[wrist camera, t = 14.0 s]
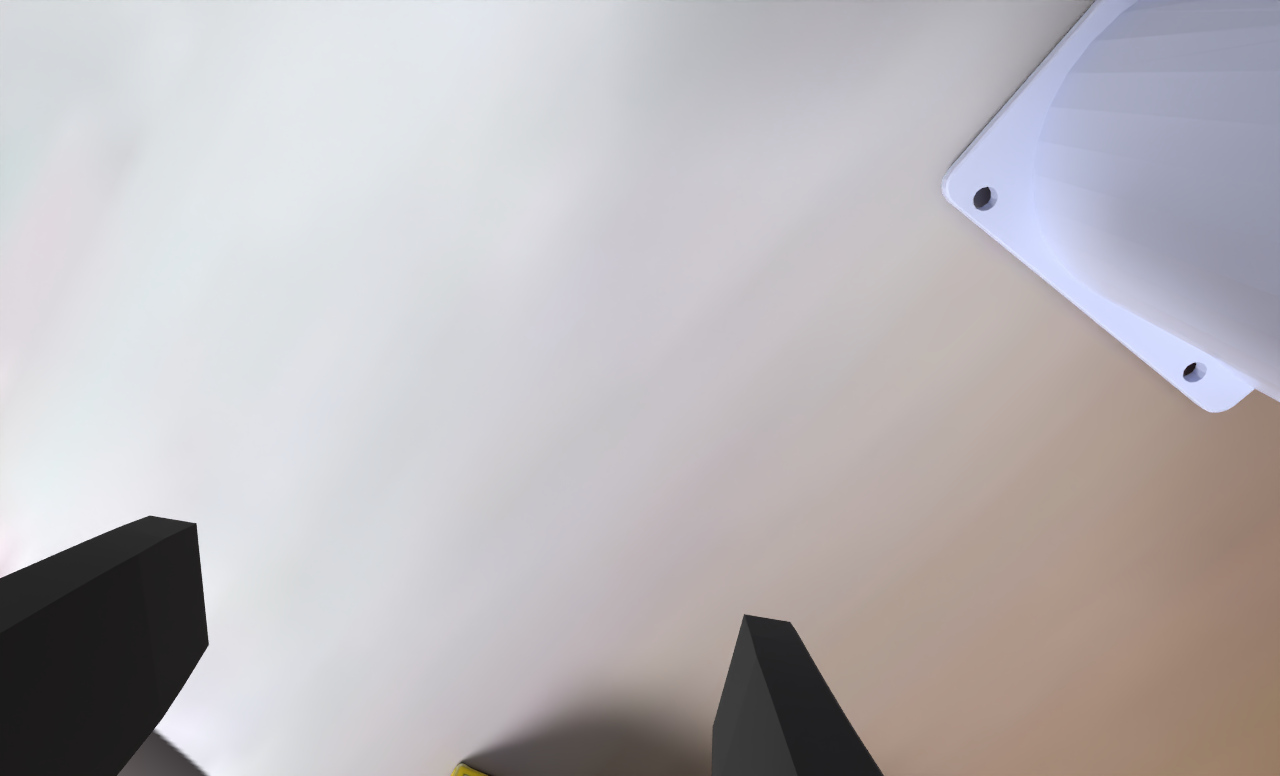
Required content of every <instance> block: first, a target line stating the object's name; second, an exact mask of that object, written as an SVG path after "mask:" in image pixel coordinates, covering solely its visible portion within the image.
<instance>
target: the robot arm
mask: <svg viewBox="0 0 1280 776" xmlns="http://www.w3.org/2000/svg"><path fill="white" fill-rule="evenodd" d="M984 187H988V188H989V189H990V191H991V198H990V200H989V202H988V203H987V204H986V205H984V206H983V207H980V208H976V207H975V206H974V204H973V197H974V196H975V194H976V192H977V191H978V190H980V189H981V188H984ZM941 189H942V193H943V196H944V197H945V198H946V200H947V201H948V202H949V203H950V204H951V205H953V206H954V207H955V208H956V209H958V210H959V211H960V212H961V213H963V214H964V215H965V216H966V217H967V218H969V219H970V220H971V221H972V222H974V223H975V224H976V225H977V226H978V227H980V228H981V229H982V230H983V231H985V232H986V233H987V234H988V235H989V236H991V237H992V238H993V239H994V240H996V241H997V242H998V243H999V244H1000V245H1002V246H1003V247H1004V248H1005V249H1007V250H1008V251H1009V252H1010V253H1011V254H1013V255H1014V256H1015V257H1016V258H1018V259H1019V260H1020V261H1021V262H1023V263H1024V264H1025V265H1026V266H1027V267H1029V268H1030V269H1031V270H1032V271H1034V272H1035V273H1036V274H1037V275H1038V276H1040V277H1041V278H1042V279H1043V280H1045V281H1046V282H1047V283H1048V284H1049V285H1051V286H1052V287H1053V288H1054V289H1056V290H1057V291H1058V292H1059V293H1060V294H1062V295H1063V296H1064V297H1065V298H1067V299H1068V300H1069V301H1070V302H1071V303H1073V304H1074V305H1075V306H1076V307H1078V308H1079V309H1080V310H1081V311H1083V312H1084V313H1085V314H1086V315H1087V316H1089V317H1090V318H1091V319H1092V320H1094V321H1095V322H1096V323H1097V324H1098V325H1100V326H1101V327H1102V328H1103V329H1105V330H1106V331H1107V332H1108V333H1109V334H1111V335H1112V336H1113V337H1114V338H1116V339H1117V340H1118V341H1119V342H1120V343H1122V344H1123V345H1124V346H1125V347H1127V348H1128V349H1129V350H1130V351H1131V352H1133V353H1134V354H1135V355H1136V356H1138V357H1139V358H1140V359H1141V360H1142V361H1144V362H1145V363H1146V364H1147V365H1149V366H1150V367H1151V368H1152V369H1154V370H1155V371H1156V372H1157V373H1158V374H1160V375H1161V376H1162V377H1163V378H1165V379H1166V380H1167V381H1168V382H1169V383H1171V384H1172V385H1173V386H1174V387H1176V388H1177V389H1178V390H1179V391H1180V392H1182V393H1183V394H1184V395H1185V396H1187V397H1188V398H1189V399H1190V400H1191V401H1193V402H1194V403H1195V404H1197V405H1198V406H1200V407H1201V408H1203V409H1204V410H1207V411H1209V412H1217V413H1218V412H1222V411H1226V410H1228V409H1230V408H1231V407H1233V406H1235V405H1236V404H1237V403H1238V402H1239V401H1241V400H1242V399H1243V398H1244V397H1245V396H1247V395H1248V394H1249V393H1250V392H1252V391H1253V390H1254V389H1257V390H1259V391H1260V392H1262V393H1264V394H1266V395H1267V396H1269V397H1271V398H1273V399H1275V400H1276V401H1278V402H1280V0H1096V1H1095V2H1094V3H1093V4H1092V5H1091V7H1090V8H1089V9H1088V10H1087V11H1086V12H1085V13H1084V15H1083V16H1082V17H1081V18H1080V19H1079V20H1078V22H1077V23H1076V24H1075V25H1074V26H1073V27H1072V28H1071V30H1070V31H1069V32H1068V33H1067V34H1066V35H1065V36H1064V38H1063V39H1062V40H1061V41H1060V42H1059V43H1058V44H1057V46H1056V47H1055V48H1054V49H1053V50H1052V51H1051V52H1050V54H1049V55H1048V56H1047V57H1046V58H1045V59H1044V60H1043V62H1042V63H1041V64H1040V65H1039V66H1038V67H1037V68H1036V70H1035V71H1034V72H1033V73H1032V74H1031V75H1030V77H1029V78H1028V79H1027V80H1026V81H1025V82H1024V83H1023V85H1022V86H1021V87H1020V88H1019V89H1018V90H1017V91H1016V93H1015V94H1014V95H1013V96H1012V97H1011V98H1010V99H1009V101H1008V102H1007V103H1006V104H1005V105H1004V106H1003V107H1002V109H1001V110H1000V111H999V112H998V113H997V114H996V115H995V117H994V118H993V119H992V120H991V121H990V122H989V123H988V125H987V126H986V127H985V128H984V129H983V130H982V132H981V133H980V134H979V135H978V136H977V137H976V138H975V140H974V141H973V142H972V143H971V144H970V145H969V146H968V148H967V149H966V150H965V151H964V152H963V153H962V154H961V156H960V157H959V158H958V159H957V160H956V161H955V162H954V164H953V165H952V166H951V167H950V168H949V169H948V171H947V172H946V174H945V176H944V177H943V180H942V185H941ZM1192 363H1196V368H1195V369H1194V370H1193V372H1192V373H1190V374H1188V375H1186V376H1183V371H1184V370H1185V369H1186V367H1187V366H1188V365H1190V364H1192ZM208 645H209V642H208V632H207V623H206V613H205V603H204V593H203V584H202V574H201V564H200V554H199V545H198V535H197V525H196V523H191V522H185V521H179V520H173V519H167V518H161V517H155V516H148V517H145V518H142V519H139V520H137V521H134V522H131V523H129V524H126V525H124V526H121V527H118V528H116V529H114V530H111V531H109V532H106V533H104V534H102V535H99V536H97V537H94V538H92V539H90V540H87V541H85V542H83V543H80V544H78V545H76V546H73V547H71V548H69V549H67V550H64V551H62V552H60V553H57V554H55V555H53V556H50V557H48V558H46V559H44V560H41V561H39V562H37V563H34V564H32V565H30V566H28V567H25V568H23V569H21V570H18V571H16V572H14V573H11V574H9V575H7V576H4V577H2V578H0V776H117V775H118V773H119V772H120V771H121V770H122V769H123V767H124V766H125V765H126V764H127V762H128V761H129V760H130V759H131V757H132V756H133V755H134V754H135V752H136V751H137V750H138V749H139V747H140V746H141V745H142V744H143V742H144V741H145V740H146V739H147V737H148V736H149V735H150V734H151V732H152V731H153V730H154V728H155V727H156V726H157V725H158V723H159V722H160V721H161V720H162V718H163V717H164V715H165V714H166V712H167V711H168V709H169V707H170V706H171V704H172V703H173V701H174V700H175V698H176V697H177V695H178V694H179V692H180V691H181V689H182V688H183V686H184V685H185V683H186V681H187V680H188V678H189V676H190V675H191V673H192V672H193V670H194V668H195V667H196V665H197V663H198V662H199V660H200V658H201V657H202V655H203V654H204V652H205V650H206V649H207V647H208ZM712 776H884V775H883V774H882V772H881V770H880V769H879V767H878V766H877V764H876V763H875V761H874V760H873V758H872V756H871V755H870V753H869V752H868V750H867V749H866V747H865V746H864V744H863V742H862V741H861V739H860V738H859V736H858V735H857V733H856V732H855V730H854V728H853V727H852V725H851V723H850V722H849V720H848V719H847V717H846V715H845V714H844V712H843V710H842V709H841V707H840V705H839V704H838V702H837V700H836V699H835V697H834V695H833V694H832V692H831V690H830V689H829V687H828V685H827V684H826V682H825V680H824V678H823V677H822V675H821V673H820V672H819V670H818V668H817V666H816V665H815V663H814V661H813V659H812V658H811V656H810V654H809V652H808V651H807V649H806V647H805V645H804V644H803V642H802V640H801V638H800V637H799V635H798V633H797V631H796V630H795V628H794V627H793V626H792V624H791V623H790V622H787V621H781V620H775V619H769V618H763V617H757V616H751V615H745V614H744V617H743V620H742V624H741V628H740V631H739V635H738V638H737V642H736V646H735V649H734V653H733V656H732V660H731V664H730V667H729V671H728V674H727V678H726V682H725V685H724V689H723V692H722V696H721V700H720V703H719V707H718V710H717V714H716V718H715V721H714V725H713V739H712Z"/></svg>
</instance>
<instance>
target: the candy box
mask: <svg viewBox="0 0 1280 776" xmlns="http://www.w3.org/2000/svg"><path fill="white" fill-rule="evenodd" d="M451 776H488V775H486V774H483V773H481V772H479V771H476V770H474V769H472V768H470V767H469V766H467V765H465V764H459V765H458V766H457V767H456V768H455V769H454V771H453V773H452V774H451Z"/></svg>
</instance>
